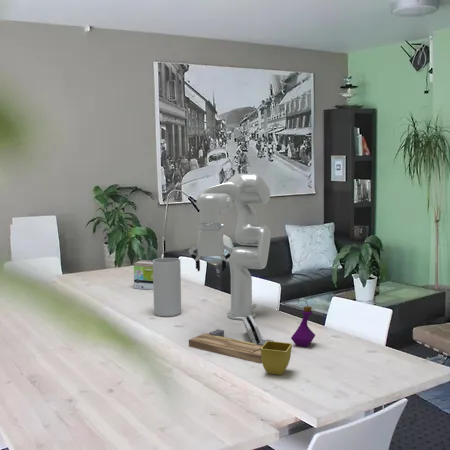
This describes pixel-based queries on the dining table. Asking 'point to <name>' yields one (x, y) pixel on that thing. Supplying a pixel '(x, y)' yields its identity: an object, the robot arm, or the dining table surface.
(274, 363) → the flower pot
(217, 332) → the locator block
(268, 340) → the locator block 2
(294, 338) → the perfume bottle
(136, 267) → the tea box
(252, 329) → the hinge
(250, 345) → the wooden plank
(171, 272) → the cylinder vase
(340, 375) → the dining table surface
